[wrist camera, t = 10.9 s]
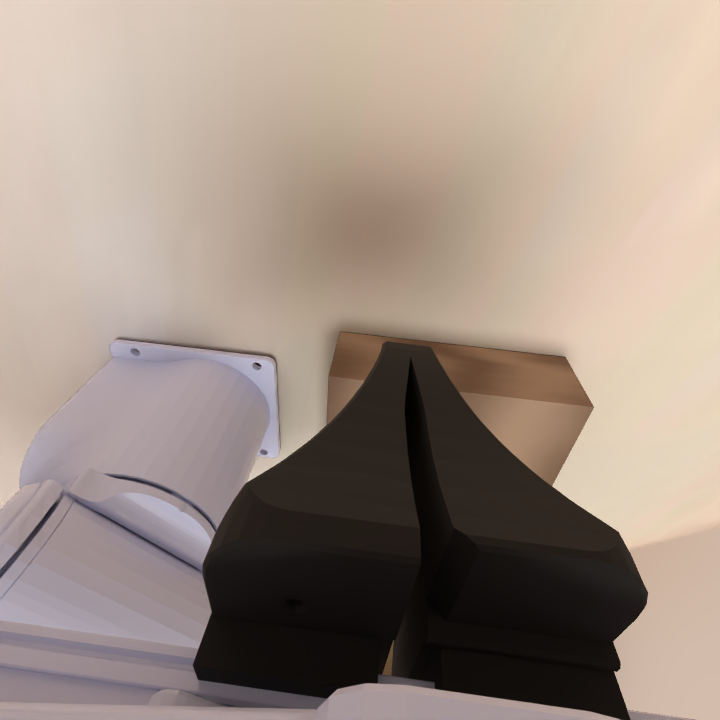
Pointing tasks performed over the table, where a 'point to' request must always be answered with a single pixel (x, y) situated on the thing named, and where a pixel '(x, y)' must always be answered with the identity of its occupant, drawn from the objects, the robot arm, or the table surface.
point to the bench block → (488, 394)
